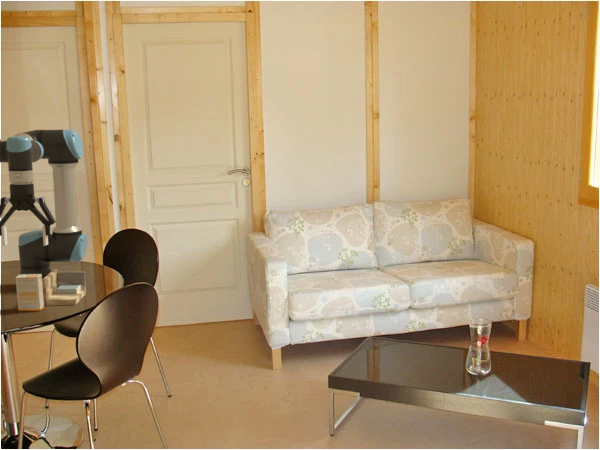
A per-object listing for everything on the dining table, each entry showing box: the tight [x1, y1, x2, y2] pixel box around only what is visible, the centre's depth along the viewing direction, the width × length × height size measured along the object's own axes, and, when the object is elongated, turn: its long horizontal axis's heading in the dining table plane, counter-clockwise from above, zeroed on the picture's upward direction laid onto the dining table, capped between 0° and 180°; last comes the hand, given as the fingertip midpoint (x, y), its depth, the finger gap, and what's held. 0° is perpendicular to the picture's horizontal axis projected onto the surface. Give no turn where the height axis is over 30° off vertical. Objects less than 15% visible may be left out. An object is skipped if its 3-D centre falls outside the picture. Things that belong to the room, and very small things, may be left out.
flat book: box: [57, 285, 81, 294], centre depth 275 cm, size 6×8×2 cm
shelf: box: [42, 269, 87, 306], centre depth 272 cm, size 16×12×10 cm
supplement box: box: [15, 274, 45, 312], centre depth 258 cm, size 8×5×13 cm, turn 92°
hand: (25, 245), depth 238 cm, fingers open, 13 cm apart
